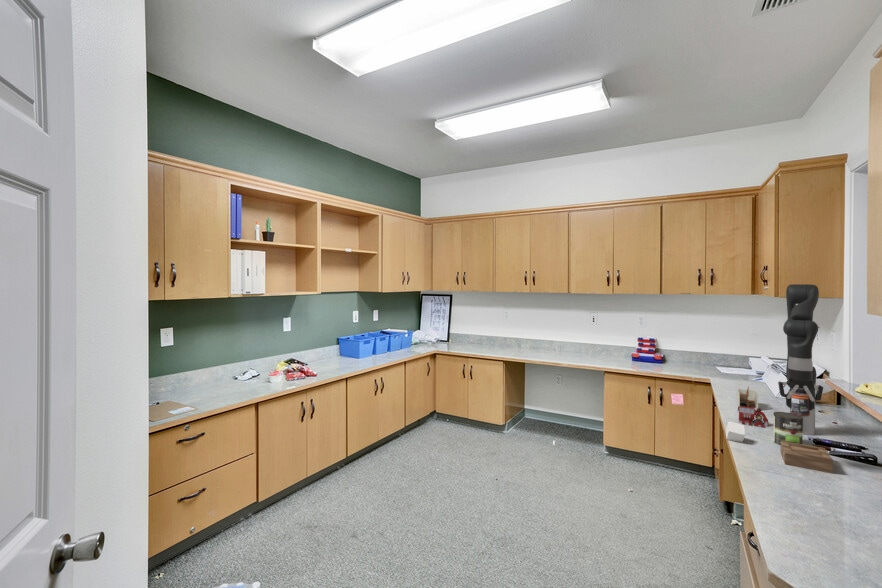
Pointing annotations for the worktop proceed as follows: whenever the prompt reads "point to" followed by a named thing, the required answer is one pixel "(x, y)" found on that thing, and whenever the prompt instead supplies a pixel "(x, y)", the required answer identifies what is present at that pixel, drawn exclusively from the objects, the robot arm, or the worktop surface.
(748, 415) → the toy fire truck
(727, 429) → the white cube
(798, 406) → the supplement bottle
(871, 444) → the worktop surface
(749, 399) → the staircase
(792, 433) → the coffee can
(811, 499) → the worktop surface
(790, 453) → the walnut block
